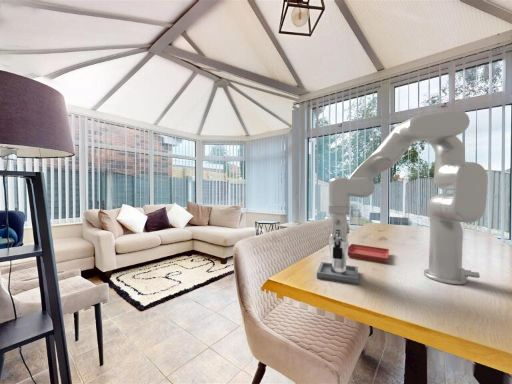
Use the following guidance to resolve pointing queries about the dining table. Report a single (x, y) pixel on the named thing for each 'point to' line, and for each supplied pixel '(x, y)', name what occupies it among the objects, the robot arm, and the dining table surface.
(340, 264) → the beer glass
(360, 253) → the plant saucer
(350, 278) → the serving tray
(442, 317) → the dining table surface
